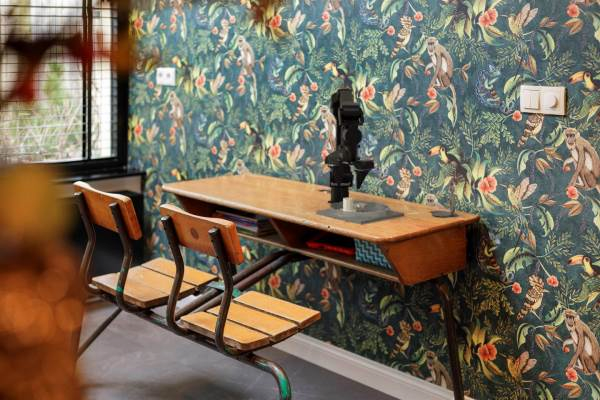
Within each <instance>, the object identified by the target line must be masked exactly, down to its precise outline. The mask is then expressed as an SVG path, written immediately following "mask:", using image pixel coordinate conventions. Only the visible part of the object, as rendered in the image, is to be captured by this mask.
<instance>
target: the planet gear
mask: <svg viewBox="0 0 600 400" xmlns="http://www.w3.org/2000/svg"><path fill="white" fill-rule="evenodd" d="M353 201H354V198H353V197H349V198H343V209H340V210H343V211H351V212H356V210H355V209H353Z"/></svg>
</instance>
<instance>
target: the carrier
mask: <svg viewBox="0 0 600 400" xmlns="http://www.w3.org/2000/svg"><path fill="white" fill-rule="evenodd" d="M337 209H338V210H340V209H343V208H337ZM377 211H382V209H378V208H371V207H367V212H377ZM318 214H319V216H322V215H323V217H327V218H331V219H335V220H340V221H345V222H348V223H352V224H357V225H366V224H370V223H375V222H376V223H377V222H380V221H384V220H390V219H395V218H399V217H404V216H405V212H400V211H396V210H392V209H390V214H389V215H387V216H384V217H379V218H347V217H341V216H336V215H334V214H332V213H330V208H328V209H321V210H316V211H315V215H318Z"/></svg>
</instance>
